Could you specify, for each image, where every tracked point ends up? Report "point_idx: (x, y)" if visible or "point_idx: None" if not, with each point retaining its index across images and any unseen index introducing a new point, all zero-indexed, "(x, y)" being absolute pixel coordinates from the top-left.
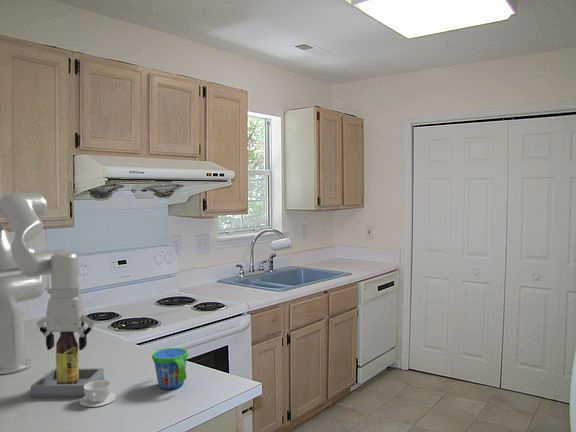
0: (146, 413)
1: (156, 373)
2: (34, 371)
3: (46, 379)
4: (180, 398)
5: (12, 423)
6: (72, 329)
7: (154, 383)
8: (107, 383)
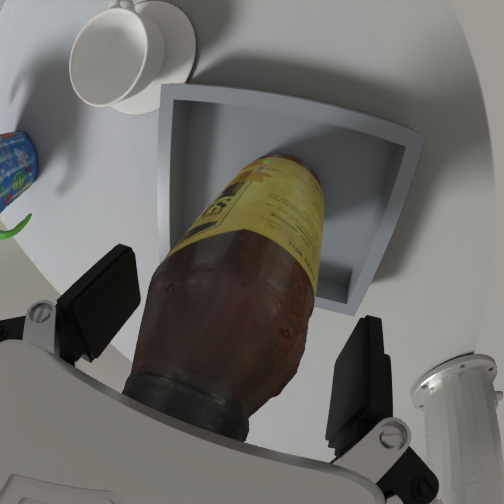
0: (37, 6)
1: (8, 158)
2: (408, 358)
3: (372, 234)
4: (3, 88)
5: None
6: (24, 366)
7: (49, 175)
8: (89, 94)
